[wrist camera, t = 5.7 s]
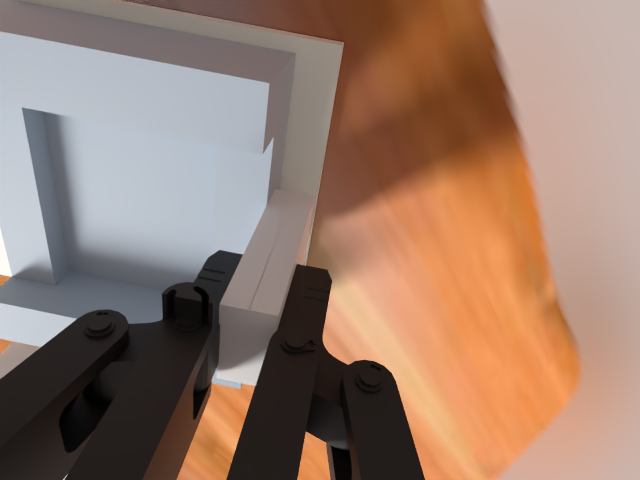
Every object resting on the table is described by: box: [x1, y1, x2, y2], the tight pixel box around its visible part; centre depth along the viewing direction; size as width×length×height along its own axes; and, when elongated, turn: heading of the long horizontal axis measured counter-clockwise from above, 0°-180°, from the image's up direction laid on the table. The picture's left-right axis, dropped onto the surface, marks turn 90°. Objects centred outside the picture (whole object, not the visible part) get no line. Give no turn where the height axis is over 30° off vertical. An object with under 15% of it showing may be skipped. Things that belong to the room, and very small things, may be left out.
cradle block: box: [0, 0, 296, 389], centre depth 17 cm, size 12×10×4 cm
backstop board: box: [0, 0, 344, 277], centre depth 18 cm, size 13×20×4 cm, turn 81°
